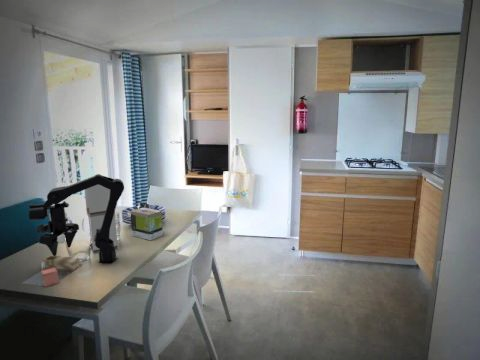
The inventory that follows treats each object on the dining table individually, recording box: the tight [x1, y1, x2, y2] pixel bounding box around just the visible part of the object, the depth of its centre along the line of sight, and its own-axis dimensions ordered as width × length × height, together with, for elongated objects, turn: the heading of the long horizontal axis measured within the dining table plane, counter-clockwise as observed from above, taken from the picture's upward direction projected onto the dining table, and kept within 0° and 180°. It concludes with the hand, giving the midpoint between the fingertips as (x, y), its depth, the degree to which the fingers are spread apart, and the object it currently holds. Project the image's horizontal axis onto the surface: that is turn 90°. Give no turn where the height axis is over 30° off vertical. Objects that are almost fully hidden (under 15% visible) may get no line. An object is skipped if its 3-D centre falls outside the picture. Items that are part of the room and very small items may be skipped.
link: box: [41, 254, 80, 271], centre depth 152 cm, size 15×5×4 cm, turn 80°
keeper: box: [41, 267, 60, 287], centre depth 138 cm, size 4×5×6 cm
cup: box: [49, 210, 69, 244], centre depth 184 cm, size 8×8×16 cm
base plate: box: [21, 263, 83, 287], centre depth 147 cm, size 14×20×1 cm
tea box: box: [130, 207, 164, 241], centre depth 191 cm, size 15×10×15 cm, turn 58°
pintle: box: [40, 261, 46, 271], centre depth 148 cm, size 2×2×5 cm
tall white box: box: [84, 185, 119, 254], centre depth 172 cm, size 11×11×35 cm
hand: (61, 251), depth 151 cm, fingers open, 9 cm apart
